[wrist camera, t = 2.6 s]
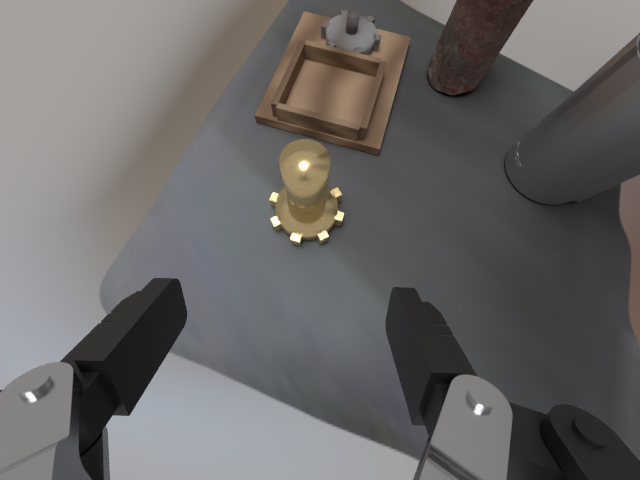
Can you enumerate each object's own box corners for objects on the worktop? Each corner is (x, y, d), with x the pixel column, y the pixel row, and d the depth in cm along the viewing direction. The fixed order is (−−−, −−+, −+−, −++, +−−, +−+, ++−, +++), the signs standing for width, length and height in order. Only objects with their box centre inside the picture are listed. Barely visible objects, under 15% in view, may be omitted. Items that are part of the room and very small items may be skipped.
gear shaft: (350, 191, 31) (367, 132, 22) (331, 256, 29) (341, 221, 19) (284, 172, 32) (273, 107, 22) (260, 234, 29) (235, 190, 20)
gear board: (407, 45, 39) (420, 8, 34) (377, 155, 33) (388, 128, 28) (304, 20, 40) (303, -20, 35) (256, 122, 34) (247, 90, 29)
